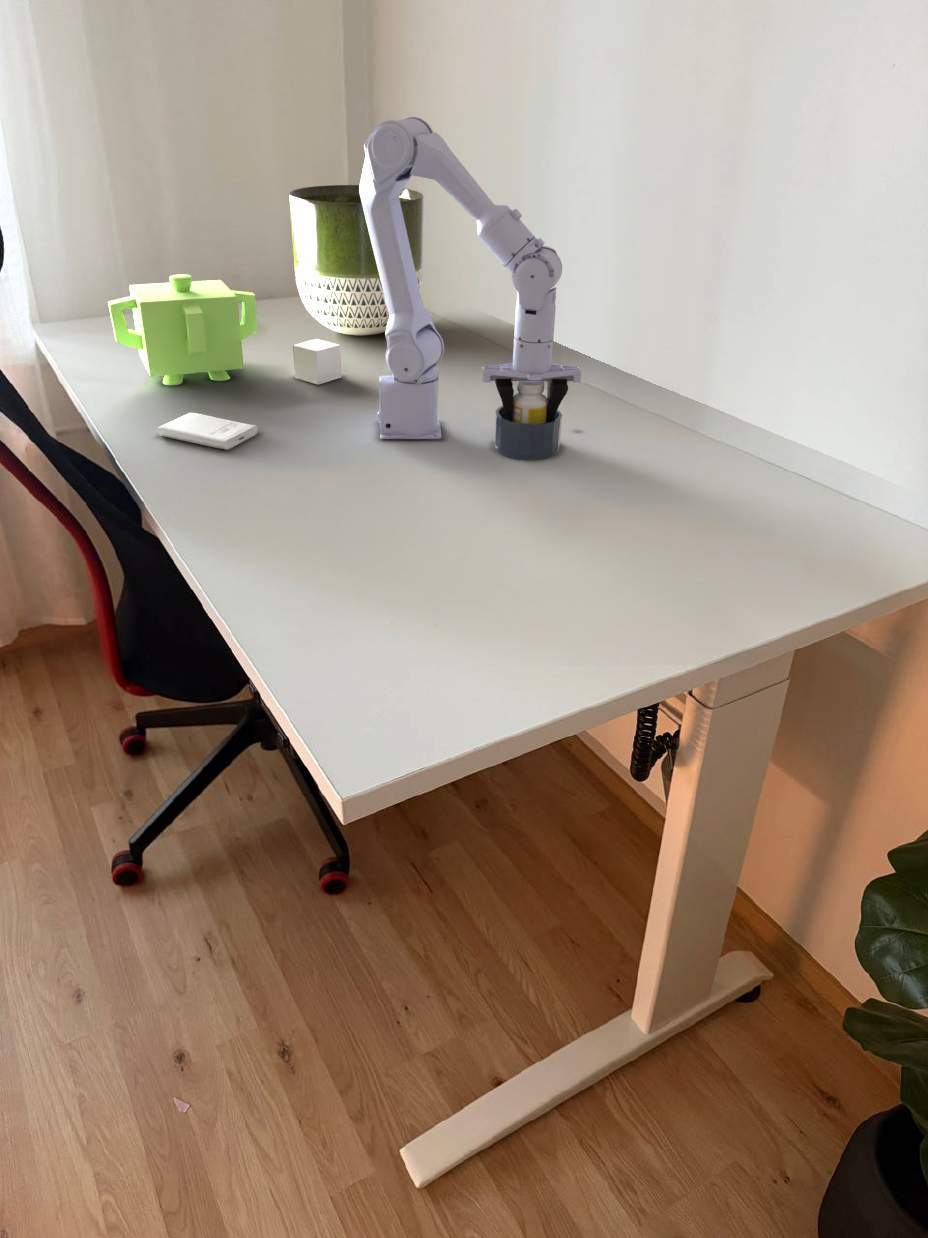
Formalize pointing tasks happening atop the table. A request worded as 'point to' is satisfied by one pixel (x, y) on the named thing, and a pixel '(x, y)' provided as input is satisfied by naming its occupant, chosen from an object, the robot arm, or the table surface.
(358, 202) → the planter
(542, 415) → the supplement bottle
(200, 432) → the hard drive
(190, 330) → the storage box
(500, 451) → the dark grey hollow cylinder
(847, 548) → the table surface
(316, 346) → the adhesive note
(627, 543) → the table surface
